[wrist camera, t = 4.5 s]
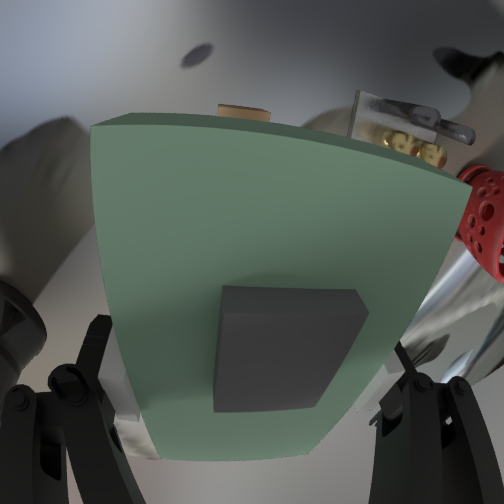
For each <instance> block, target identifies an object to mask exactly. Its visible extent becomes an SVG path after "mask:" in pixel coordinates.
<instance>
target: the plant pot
mask: <svg viewBox="0 0 504 504" xmlns="http://www.w3.org/2000/svg"><path fill="white" fill-rule="evenodd" d="M458 179H459V180H461V181H463V182H465V183H466V184H468V185H470V186H472V187H473V188H472V191H471V194H470V197H469V200H468V202H467V205H466V208H465V211H464V213H463V216H462V219H461V221H460V224H459V226H458V229H457V231H456V234H455V236H454V238H455V239H456V240H457V241H460V242H464V244H465V245H466V247H467V249H468V250H469V251H470V253H471V254H472V256H473V257H474V258H475V259H476V261H477V262H478V263H479V264H480V265H481V266H482V267H483V268H484V269H485V270H486V271H487V272H488V273H489V274H490V275H491V276H492V277H493V278H495V279H496V280H497V281H499V282H501V283H504V263H499V258H500V255H503V256H504V247H503V248H502V244H504V172H501V171H491V170H490V169H489V168H488V167H486V166H484V165H474V166H471V167H469V168H467V169H466V170H465V171H463V172H462V173H461V174H460V175H459V177H458Z"/></svg>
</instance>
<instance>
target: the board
mask: <svg viewBox="0 0 504 504" xmlns="http://www.w3.org/2000/svg"><path fill="white" fill-rule="evenodd" d="M90 152H91V182H92V197H93V209H94V219H95V228H96V237H97V244H98V251H99V258H100V264H101V270H102V276H103V281H104V286H105V291H106V296H107V301H108V306H109V310H110V314H111V319H112V323H113V327H114V331H115V335H116V338H117V342H118V346H119V349H120V353H121V356H122V360H123V363H124V366H125V368H126V371H127V374H128V377H129V380H130V383H131V386H132V389H133V392H134V395H135V398H136V401H137V404H138V406H139V409H140V413H141V415H142V418H143V420H144V423H145V425H146V428H147V430H148V433H149V435H150V437H151V440H152V442H153V444H154V446H155V449H156V451H157V453H158V455H159V457H160V459H172V460H186V461H246V460H262V459H273V458H283V457H291V456H298V455H304V454H308V453H309V452H310V451H311V450H312V449H313V448H314V447H315V446H316V445H317V444H318V443H319V442H320V441H321V440H322V439H323V438H324V437H325V436H326V435H327V434H328V432H330V430H331V429H332V428H333V427H334V426H335V425H336V424H337V423H338V421H339V420H340V419H341V418H342V417H343V416H344V414H345V413H346V412H347V411H348V410H349V408H350V407H351V406H352V405H353V403H354V402H355V401H356V400H357V398H358V397H359V396H360V395H361V393H362V392H363V391H364V390H365V388H366V387H367V386H368V384H369V383H370V382H371V380H372V379H373V378H374V376H375V375H376V374H377V372H378V371H379V369H380V368H381V367H382V365H383V364H384V363H385V361H386V360H387V358H388V357H389V355H390V354H391V353H392V351H393V350H394V348H395V347H396V345H397V343H398V342H399V340H400V339H401V337H402V336H403V334H404V332H405V331H406V329H407V328H408V326H409V324H410V323H411V321H412V319H413V318H414V316H415V314H416V313H417V311H418V309H419V307H420V306H421V304H422V302H423V300H424V298H425V296H426V295H427V293H428V291H429V289H430V287H431V285H432V283H433V281H434V279H435V277H436V275H437V273H438V271H439V269H440V267H441V265H442V263H443V261H444V259H445V257H446V254H447V252H448V250H449V248H450V245H451V243H452V241H453V238H454V236H455V234H456V231H457V229H458V226H459V224H460V221H461V219H462V216H463V213H464V211H465V208H466V205H467V202H468V200H469V197H470V194H471V191H472V188H473V187H472V186H470V185H468V184H466V183H465V182H463V181H461V180H459V179H458V178H456V177H454V176H452V175H450V174H449V173H447V172H445V171H443V170H441V169H439V168H437V167H435V166H433V165H431V164H429V163H427V162H425V161H423V160H421V159H419V158H417V157H414V156H411V155H408V154H405V153H402V152H399V151H395V150H392V149H389V148H385V147H382V146H378V145H375V144H371V143H368V142H364V141H360V140H356V139H352V138H348V137H344V136H340V135H335V134H331V133H326V132H321V131H317V130H312V129H306V128H301V127H296V126H289V125H284V124H278V123H271V122H264V121H257V120H249V119H241V118H232V117H222V116H209V115H195V114H176V113H129V114H126V115H123V116H120V117H116V118H113V119H110V120H107V121H104V122H101V123H98V124H95V125H92V126H91V134H90Z"/></svg>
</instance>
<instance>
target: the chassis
mask: <svg viewBox="0 0 504 504" xmlns="http://www.w3.org/2000/svg"><path fill="white" fill-rule="evenodd" d="M437 133H439V134H441V135H444V136H447V137H450V138H452V139H455V140H457V141H460V142H462V143H465V144H467V145H472V144H473V143H474V141H475V132H474V130H473V129H472V128H469V127H466V126H463V125H460V124H457V123H453V122H450V121H447V120H443V119H441V115H440V113H439V111H438V110H436V109H434V108H430V107H425V106H421V105H416V104H411V103H405V102H400V101H394V100H388V99H384V98H381V97H378V96H375V95H372V94H370V93H367V92H364V91H359V90H357V91H356V95H355V101H354V105H353V110H352V115H351V120H350V125H349V129H348V134H347V137H348V138H352V139H356V140H360V141H364V142H368V143H371V144H375V145H378V146H382V147H385V148H389V149H392V150H395V151H399V152H402V153H405V154H408V155H411V156H414V157H417V158H419V159H421V160H423V161H425V162H427V163H429V164H431V165H433V166H435V167H437V168H439V169H441V168H443V167H444V165H445V163H446V161H447V153H446V150H445V149H444V148H443V147H441V146H439V145H436V144H435V140H436V136H437Z"/></svg>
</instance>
